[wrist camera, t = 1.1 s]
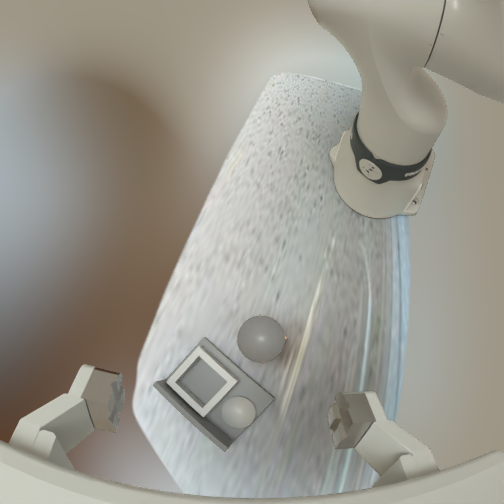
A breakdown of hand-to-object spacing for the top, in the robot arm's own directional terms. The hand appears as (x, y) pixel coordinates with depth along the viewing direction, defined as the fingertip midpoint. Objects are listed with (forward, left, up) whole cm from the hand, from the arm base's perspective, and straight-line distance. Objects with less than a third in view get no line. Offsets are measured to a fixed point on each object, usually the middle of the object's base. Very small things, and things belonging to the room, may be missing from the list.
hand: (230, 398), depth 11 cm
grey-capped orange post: (-1, -2, -37) cm, 37 cm away
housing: (+10, -3, -36) cm, 38 cm away
